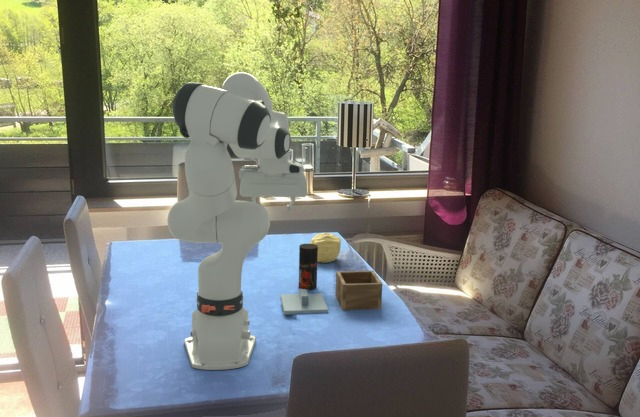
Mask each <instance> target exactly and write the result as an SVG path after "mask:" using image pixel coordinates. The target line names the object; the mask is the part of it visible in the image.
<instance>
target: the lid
mask: <svg viewBox="0 0 640 417" xmlns="http://www.w3.org/2000/svg"><path fill="white" fill-rule="evenodd" d="M280 301H281V305H282V306H281V307H282V311H283V314H284V315H286V316H287V315H295V314H318V313H329V309H328V305H327V303H326V300H325V299H324V295H323V294H322V293H321V292H319V293H308V290H306V289H300V288H299V293H286V294H284V293H281V294H280Z"/></svg>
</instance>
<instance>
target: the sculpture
mask: <svg viewBox="0 0 640 417" xmlns="http://www.w3.org/2000/svg"><path fill="white" fill-rule="evenodd" d="M309 244H315V245H317V246H318V257H317V263H320V262H321V264H322V263H323V264H325V263H326V264H328V262H329V263H332V261H333V262H334V261H336V260H337V258H338V257H339V255H340V253H341V246H342V245H341V244H342V240H341V237H339V236H336V235H334V234H333V233H332V232H329V233H328V232H321V233H317V234H316V235H314V236H313V237H312V238H311V240H310V242H309Z"/></svg>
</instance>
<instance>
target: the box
mask: <svg viewBox="0 0 640 417" xmlns="http://www.w3.org/2000/svg"><path fill="white" fill-rule="evenodd" d="M335 276H336V277H335V297H336V300H337V301H338V304H339V306H340V309H341V311H353V310H354V311H357V310H358V311H361V310H381V309H382V301H383V300H382V297H383V283H382V281H381V280H380V278H379V277H378V275H377V274H376V272H375V271H374V270H350V271H349V270H348V271H347V270H346V271H345V270H343V271H342V270H341V271H336V275H335Z"/></svg>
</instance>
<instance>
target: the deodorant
mask: <svg viewBox="0 0 640 417" xmlns="http://www.w3.org/2000/svg"><path fill="white" fill-rule="evenodd" d="M298 249H299V250H298V251H299V252H298V253H299V254H298V256H299V257H298V289H299V290H300V289H306V290H307V291H313V290H316V289H317V287H318V286H317V285H318V284H317V283H318V262H317V257H318V246H317V245H315V244H310V243H302V244H300V245H299V248H298Z"/></svg>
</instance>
